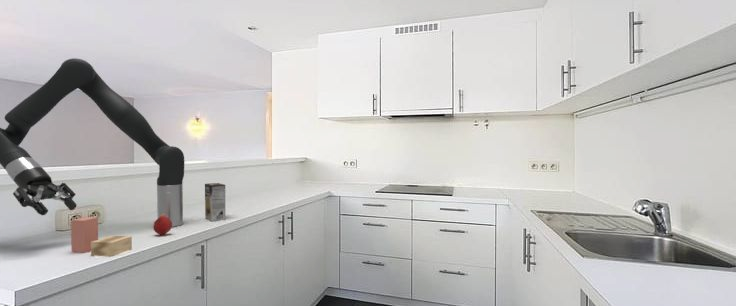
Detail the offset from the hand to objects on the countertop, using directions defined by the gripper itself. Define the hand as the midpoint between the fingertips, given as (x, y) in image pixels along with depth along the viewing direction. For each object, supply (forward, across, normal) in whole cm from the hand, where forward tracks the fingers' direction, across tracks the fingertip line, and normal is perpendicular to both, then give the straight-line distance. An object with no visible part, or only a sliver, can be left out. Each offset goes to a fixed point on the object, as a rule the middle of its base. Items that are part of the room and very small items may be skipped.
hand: (60, 210), depth 104 cm
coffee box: (+24, +49, -6) cm, 55 cm away
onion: (+23, +20, -4) cm, 31 cm away
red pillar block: (+15, 0, +2) cm, 15 cm away
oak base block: (+22, 0, -5) cm, 22 cm away
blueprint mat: (+19, 0, -1) cm, 19 cm away
